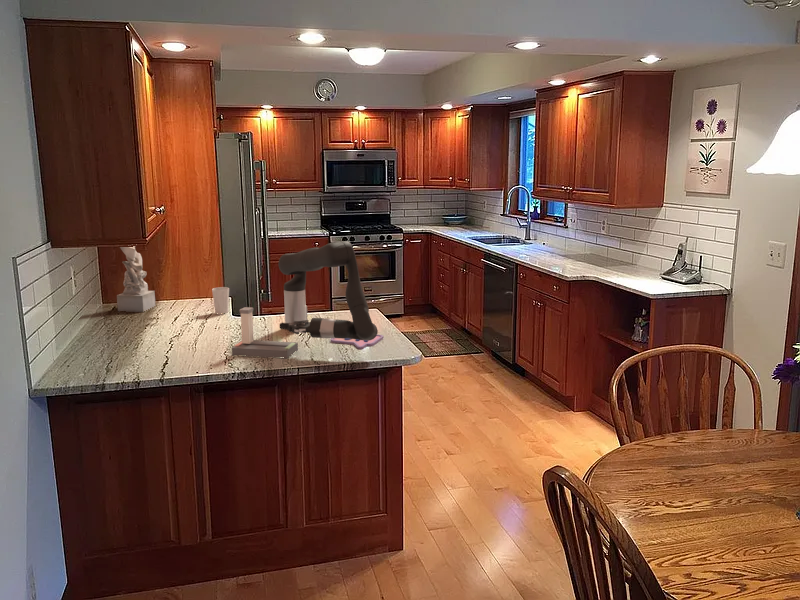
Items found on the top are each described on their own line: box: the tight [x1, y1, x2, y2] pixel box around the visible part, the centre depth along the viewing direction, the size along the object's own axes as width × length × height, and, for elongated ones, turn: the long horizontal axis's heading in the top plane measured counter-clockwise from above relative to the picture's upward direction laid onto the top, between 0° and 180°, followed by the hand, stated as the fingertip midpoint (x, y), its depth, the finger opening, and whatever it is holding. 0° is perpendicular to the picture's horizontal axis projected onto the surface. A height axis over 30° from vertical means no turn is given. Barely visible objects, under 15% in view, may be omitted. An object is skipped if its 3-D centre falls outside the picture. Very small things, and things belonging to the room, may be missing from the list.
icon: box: [329, 334, 384, 350], centre depth 273 cm, size 19×2×20 cm
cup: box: [211, 286, 230, 315], centre depth 323 cm, size 8×8×12 cm
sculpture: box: [116, 246, 156, 313], centre depth 330 cm, size 13×13×35 cm
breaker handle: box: [239, 306, 255, 344], centre depth 256 cm, size 5×4×13 cm
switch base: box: [231, 339, 299, 359], centre depth 257 cm, size 12×22×3 cm, turn 79°
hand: (280, 325), depth 254 cm, fingers closed
